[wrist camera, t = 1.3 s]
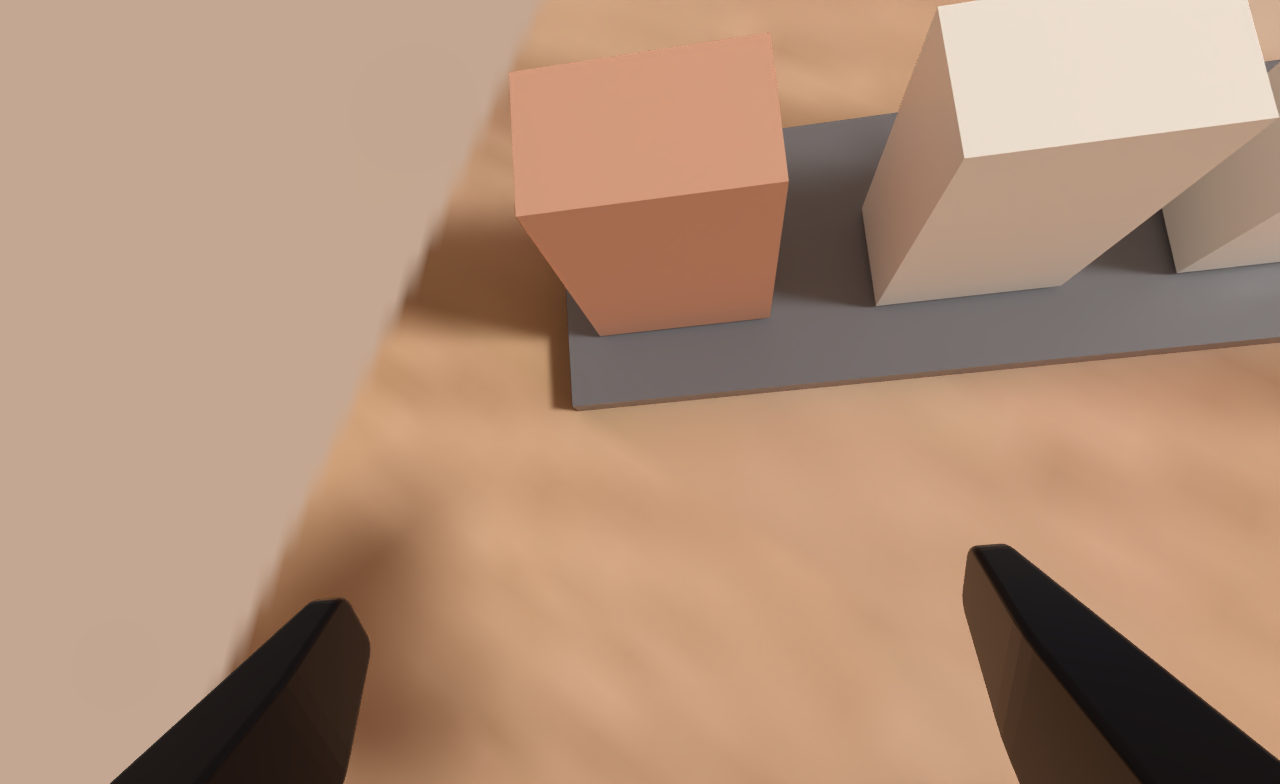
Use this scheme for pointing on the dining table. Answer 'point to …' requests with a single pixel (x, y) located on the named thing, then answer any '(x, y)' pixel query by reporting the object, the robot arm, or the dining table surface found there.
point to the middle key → (1054, 136)
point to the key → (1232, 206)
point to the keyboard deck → (914, 305)
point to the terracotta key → (655, 181)
